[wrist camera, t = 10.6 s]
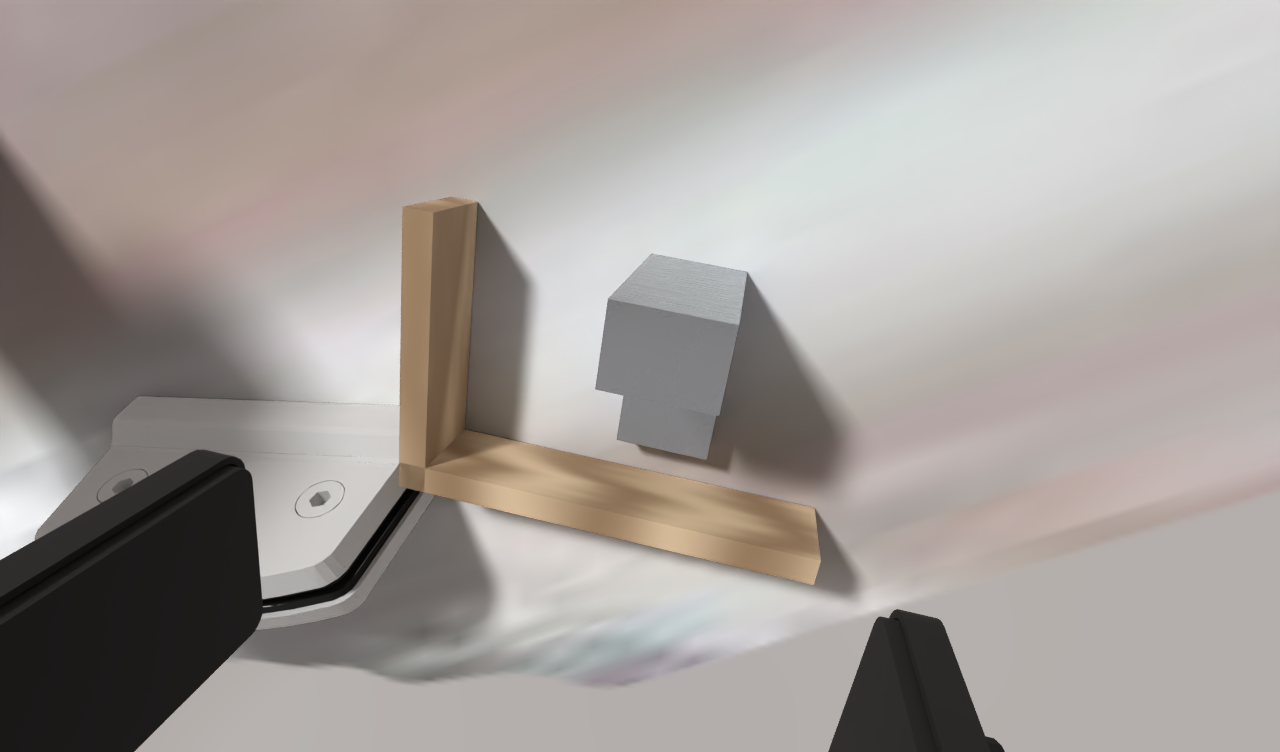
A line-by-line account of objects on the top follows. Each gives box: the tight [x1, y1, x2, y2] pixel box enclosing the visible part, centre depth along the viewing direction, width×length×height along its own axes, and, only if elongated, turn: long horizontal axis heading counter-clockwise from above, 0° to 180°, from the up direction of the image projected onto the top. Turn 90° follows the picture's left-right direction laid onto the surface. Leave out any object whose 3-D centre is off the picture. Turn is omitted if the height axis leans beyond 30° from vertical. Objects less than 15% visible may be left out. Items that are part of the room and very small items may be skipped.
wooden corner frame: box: [399, 197, 821, 585], centre depth 27 cm, size 18×12×4 cm, turn 82°
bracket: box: [595, 254, 747, 460], centre depth 25 cm, size 8×4×8 cm, turn 171°
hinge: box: [35, 396, 434, 630], centre depth 31 cm, size 17×5×10 cm, turn 92°
